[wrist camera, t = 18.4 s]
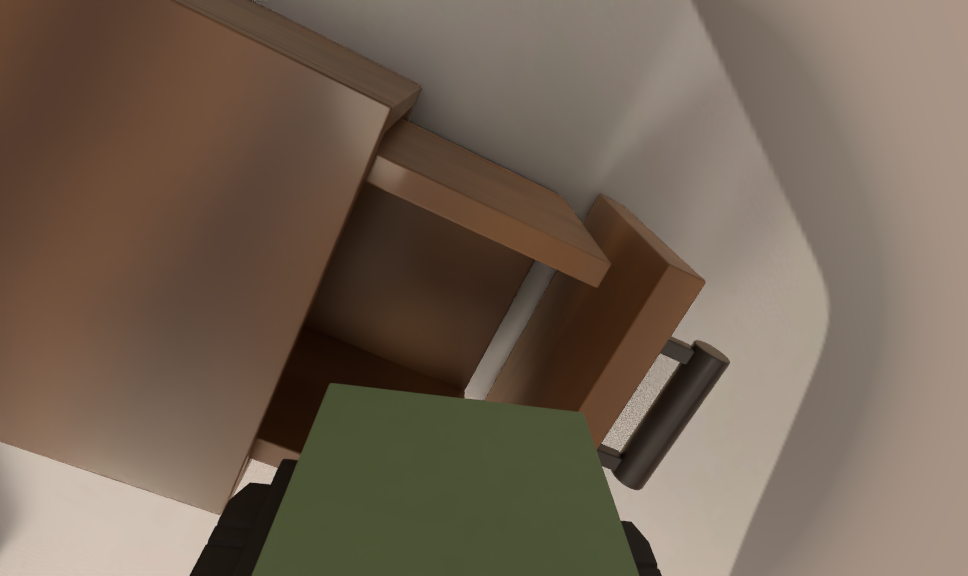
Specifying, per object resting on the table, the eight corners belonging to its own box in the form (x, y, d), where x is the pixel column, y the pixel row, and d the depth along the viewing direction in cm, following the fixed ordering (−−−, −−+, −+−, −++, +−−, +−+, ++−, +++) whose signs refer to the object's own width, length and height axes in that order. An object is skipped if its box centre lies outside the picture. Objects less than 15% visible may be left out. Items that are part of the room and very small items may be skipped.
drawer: (716, 251, 25) (839, 345, 17) (583, 456, 29) (632, 616, 20) (308, 49, 22) (215, 44, 14) (214, 310, 25) (96, 431, 17)
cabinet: (422, 85, 23) (392, 107, 13) (309, 349, 27) (222, 516, 17) (32, -110, 21) (-366, -264, 11) (-32, 214, 24) (-366, 320, 15)
